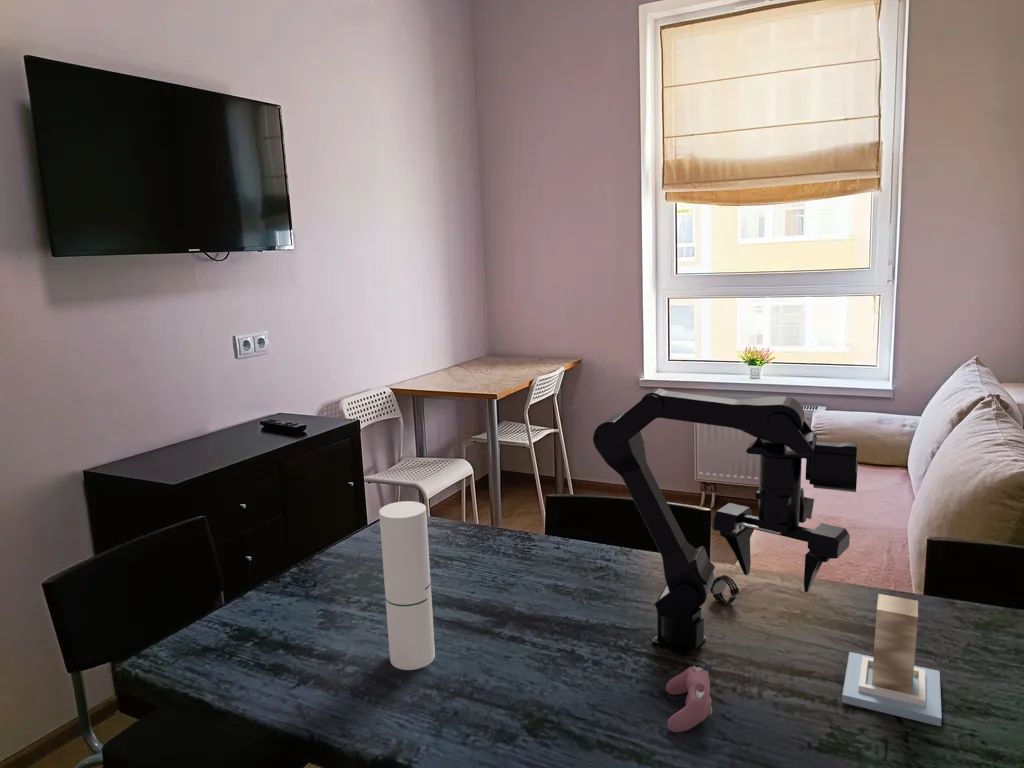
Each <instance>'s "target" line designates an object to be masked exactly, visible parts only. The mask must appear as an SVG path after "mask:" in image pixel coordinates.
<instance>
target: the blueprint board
mask: <svg viewBox="0 0 1024 768" xmlns="http://www.w3.org/2000/svg"><path fill="white" fill-rule="evenodd" d="M873 658H874V656H871V655H866V654H861V653H857V652H851V651H849V652H848V658H847V665H846V670H845V677H844V683H843V687H842V688H843V689H842V694H841V695H842V696H841V697H842V700H841V703H843V704H847V705H851V706H856V707H858V708H864V709H868V710H872V711H875V712H881V713H884V714H887V715H892V716H896V717H900V718H906V719H909V720H913V721H917V722H922V723H924V724H929V725H933V726H937V727H942V698H941V697H942V695H941V675H940V673H941V672H940V670H937V669H932V668H927V667H922V666H918V665H914V674H913V686H912V695H911V694H907V693H902V692H898V691H893V690H889V689H885V688H880V687H876V686H872V673H873Z"/></svg>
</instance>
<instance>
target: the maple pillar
mask: <svg viewBox="0 0 1024 768" xmlns="http://www.w3.org/2000/svg"><path fill="white" fill-rule="evenodd" d="M875 615H876V616H875V617H876V618H875V631H874V646H873V657H874V658H873V673H872V686H876V687H880V688H885V689H889V690H893V691H898V692H902V693H907V694H911V695H912V686H913V674H914V666H915V659H916V648H917V647H916V646H917V645H916V644H917V632H918V620H919V600H914V599H910V598H904V597H898V596H892V595H886V594H882V593H878V595H877V604H876V614H875Z"/></svg>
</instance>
